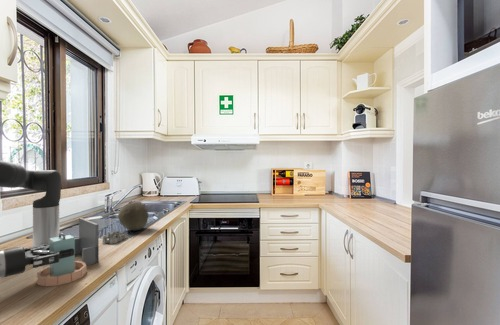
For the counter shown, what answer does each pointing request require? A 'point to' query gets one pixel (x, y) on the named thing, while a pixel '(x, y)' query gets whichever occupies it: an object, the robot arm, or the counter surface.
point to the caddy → (64, 264)
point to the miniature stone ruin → (113, 237)
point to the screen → (88, 241)
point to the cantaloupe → (133, 216)
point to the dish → (46, 280)
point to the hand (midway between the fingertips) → (69, 248)
